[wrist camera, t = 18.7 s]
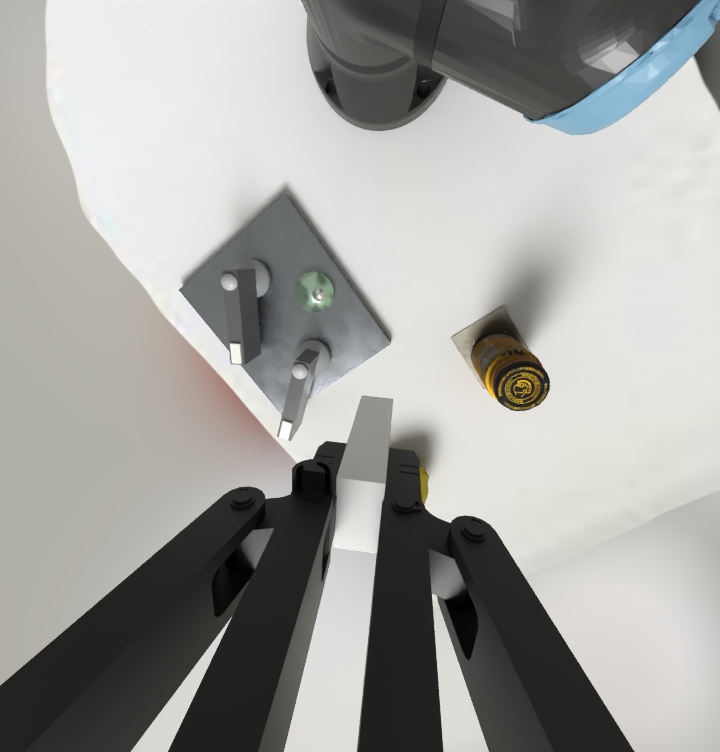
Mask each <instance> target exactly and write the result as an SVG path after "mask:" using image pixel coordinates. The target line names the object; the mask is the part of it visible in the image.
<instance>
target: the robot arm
mask: <svg viewBox="0 0 720 752" xmlns="http://www.w3.org/2000/svg"><path fill="white" fill-rule="evenodd" d="M301 1H302V3H303V5H304V7H305V10H306V12H307V14H308V16H307V48H308V55H309V60H310V64H311V68H312V71H313V74H314V77H315V79H316V81H317V83H318V86H319V88H320V90H321V91H322V93H323V95H324V97H325V99H326V100H327V102H328V103H329V105H330V106H331V107H332V108H333V109H334V111H335V112H336V113H337V114H338V115H339V116H341V117H342V118H343V119H345V120H346V121H347V122H349V123H351V124H353V125H355V126H357V127H360V128H363V129H366V130H373V131H385V130H391V129H395V128H398V127H401V126H404V125H406V124H408V123H410V122H411V121H413V120H414V119H416V118H417V117H419V116H420V115H421V114H422V113H424V112H425V111H426V110H427V109H428V108H429V107H430V106H431V104H432V103H433V102H434V101H435V99H436V98H437V97H438V95H439V94H440V92H441V91H442V89H443V87H444V85H445V83H446V81H447V79H448V78H450V79H452V80H454V81H456V82H458V83H460V84H462V85H464V86H466V87H468V88H470V89H472V90H474V91H477V92H479V93H481V94H483V95H485V96H487V97H489V98H491V99H493V100H495V101H497V102H499V103H501V104H503V105H505V106H507V107H509V108H511V109H513V110H516V111H518V112H520V113H522V114H523V116H524V118H525V119H526V120H527V121H529V122H531V123H537V124H545V125H548V126H550V127H552V128H555V129H557V130H559V131H562V132H564V133H567V134H570V135H585V134H591V133H595V132H597V131H600V130H602V129H604V128H606V127H608V126H610V125H612V124H613V123H615V122H617V121H618V120H620V119H621V118H623V117H624V116H626V115H627V114H629V113H630V112H631V111H633V110H634V109H635V108H636V107H638V106H639V105H640V104H642V103H643V102H644V101H645V100H646V99H648V98H649V97H650V96H651V95H652V94H653V93H654V92H656V91H657V90H658V89H659V88H660V87H661V86H662V85H663V84H664V83H666V82H667V81H668V80H669V79H670V78H671V77H672V76H673V75H674V74H675V73H676V72H677V71H678V70H679V69H680V68H681V67H682V66H683V65H684V64H685V63H686V62H687V61H688V60H689V59H690V58H691V57H692V56H693V55H694V54H695V53H696V52H697V51H698V49H699V48H700V47H701V46H702V45H703V44H704V43H705V41H707V40H708V38H709V37H710V36H711V35H712V33H713V32H714V28H715V25H716V23H717V21H718V20H719V19H720V0H301ZM392 406H393V399H388V398H379V397H370V396H362V397H361V400H360V403H359V407H358V410H357V413H356V416H355V420H354V423H353V426H352V429H351V432H350V436H349V439H348V442H347V444H346V443H338V442H330V441H326V442H325V443H323V444H322V445H321V446H319V447H318V450H317V452H316V454H315V456H314V458H313V459H310V460H305V461H302V462H300V463H298V464H296V465H295V466H294V467H293V468H292V492H291V494H290V495H288V496H285V497H280V498H271V499H265V495H264V493H263V492H262V491H261V490H259V489H257V488H254V487H239V488H237V489H233V490H231V491H229V492H228V493H226V494H225V495H223V496H222V497H221V498H220V499H219V500H217V501H216V502H215V503H214V504H213V505H212V506H211V507H209V508H208V509H207V510H206V511H205V512H203V513H202V514H201V515H200V516H199V517H198V518H196V519H195V520H194V521H193V522H192V523H190V524H189V525H188V526H187V527H186V528H185V529H184V530H182V531H181V532H180V533H179V534H178V535H176V536H175V537H174V538H173V539H172V540H171V541H169V542H168V543H167V544H166V545H165V546H164V547H162V548H161V549H160V550H159V551H158V552H156V553H155V554H154V555H153V556H152V557H151V558H149V559H148V560H147V561H146V562H145V563H144V564H142V565H141V566H140V567H139V568H138V569H137V570H135V571H134V572H133V573H132V574H131V575H130V576H128V577H127V578H126V579H125V580H124V581H122V582H121V583H120V584H119V585H118V586H117V587H116V588H114V589H113V590H112V591H111V592H110V593H108V594H107V595H106V596H105V597H104V598H103V599H101V600H100V601H99V602H98V603H97V604H96V605H94V606H93V607H92V608H91V609H90V610H89V611H87V612H86V613H85V614H84V615H83V616H82V617H80V618H79V619H78V620H77V621H76V622H75V623H73V624H72V625H71V626H70V627H69V628H67V629H66V630H65V631H64V632H63V633H61V634H60V635H59V636H58V637H57V638H56V639H54V640H53V641H52V642H51V643H50V644H49V645H47V646H46V647H45V648H44V649H43V650H42V651H40V652H39V653H38V654H37V655H36V656H35V657H33V658H32V659H31V660H30V661H29V662H27V663H26V664H25V665H24V666H23V667H22V668H20V669H19V670H18V671H17V672H16V673H15V674H14V675H12V676H11V677H10V678H9V679H8V680H7V681H5V682H4V683H3V684H2V685H1V686H0V752H131V750H132V749H133V748H134V746H135V745H136V744H137V742H138V741H139V739H140V738H141V737H142V736H143V734H144V733H145V731H146V730H147V729H148V728H149V726H150V725H151V724H152V722H153V721H154V720H155V718H156V717H157V716H158V714H159V713H160V712H161V710H162V709H163V707H164V706H165V705H166V704H167V702H168V701H169V699H170V698H171V697H172V696H173V694H174V693H175V692H176V690H177V689H178V687H179V686H180V685H181V684H182V682H183V681H184V680H185V678H186V677H187V675H188V674H189V673H190V672H191V670H192V669H193V668H194V666H195V665H196V664H197V662H198V661H199V659H200V658H201V657H202V656H203V654H204V653H205V652H206V650H207V649H208V648H209V646H210V645H211V644H212V642H213V641H214V640H215V638H216V637H217V636H218V634H219V633H220V631H221V630H222V629H223V627H224V626H225V625H226V623H227V622H228V621H229V619H230V618H231V617H232V618H231V620H230V623H229V625H228V627H227V629H226V631H225V633H224V635H223V637H222V639H221V641H220V644H219V646H218V648H217V650H216V652H215V654H214V656H213V658H212V660H211V663H210V665H209V667H208V669H207V671H206V673H205V675H204V677H203V679H202V681H201V683H200V686H199V688H198V690H197V692H196V694H195V696H194V698H193V700H192V702H191V705H190V707H189V709H188V711H187V713H186V715H185V717H184V719H183V722H182V723H181V726H180V728H179V730H178V732H177V734H176V736H175V738H174V740H173V742H172V744H171V747H170V749H169V751H168V752H284V748H285V744H286V740H287V736H288V732H289V728H290V724H291V720H292V715H293V711H294V707H295V703H296V698H297V695H298V691H299V686H300V683H301V678H302V674H303V670H304V666H305V662H306V658H307V653H308V650H309V646H310V642H311V637H312V633H313V629H314V625H315V621H316V617H317V613H318V608H319V605H320V600H321V596H322V592H323V588H324V584H325V579H326V576H327V572H328V568H329V563H330V552H331V546H332V542H333V547H335V548H342V549H348V550H355V551H362V552H368V553H375V554H377V559H376V567H375V576H374V585H373V586H374V587H373V597H372V606H371V616H370V626H369V636H368V646H367V656H366V666H365V677H364V686H363V696H362V707H361V716H360V726H359V736H358V746H357V752H443V741H442V728H441V713H440V700H439V686H438V672H437V659H436V645H435V631H434V619H433V604H432V594H435V595H437V598H438V603H439V606H440V609H441V612H442V615H443V617H444V621H445V623H446V626H447V629H448V632H449V635H450V638H451V641H452V644H453V647H454V650H455V653H456V656H457V658H458V662H459V664H460V667H461V670H462V673H463V676H464V679H465V682H466V685H467V688H468V691H469V694H470V697H471V700H472V703H473V706H474V708H475V711H476V714H477V717H478V720H479V723H480V726H481V729H482V732H483V735H484V738H485V741H486V744H487V746H488V750H489V752H634V750H633V749H632V747H631V746H630V744H629V742H628V741H627V739H626V738H625V736H624V734H623V733H622V731H621V730H620V728H619V727H618V725H617V723H616V722H615V720H614V719H613V717H612V715H611V714H610V712H609V711H608V709H607V707H606V706H605V704H604V703H603V701H602V700H601V698H600V696H599V695H598V693H597V692H596V690H595V688H594V687H593V685H592V684H591V682H590V680H589V679H588V677H587V676H586V674H585V673H584V671H583V670H582V668H581V666H580V664H579V663H578V662H577V660H576V658H575V657H574V655H573V653H572V652H571V650H570V649H569V647H568V645H567V644H566V642H565V641H564V639H563V638H562V636H561V634H560V633H559V631H558V630H557V628H556V626H555V625H554V623H553V622H552V620H551V618H550V617H549V615H548V614H547V612H546V610H545V609H544V607H543V606H542V604H541V603H540V601H539V599H538V598H537V596H536V595H535V593H534V591H533V590H532V588H531V587H530V585H529V583H528V582H527V580H526V579H525V577H524V575H523V574H522V572H521V571H520V569H519V567H518V566H517V564H516V563H515V561H514V560H513V558H512V556H511V555H510V553H509V552H508V550H507V548H506V547H505V545H504V544H503V542H502V540H501V539H500V537H499V536H498V534H497V533H496V531H495V530H494V529H493V528H492V527H491V525H489V524H488V523H486V522H485V521H483V520H481V519H479V518H476V517H473V516H460V517H457V518H455V519H454V520H452V522H451V523H448V522H446V521H443V520H441V519H439V518H437V517H435V516H433V515H432V514H430V513H429V512H428V511H427V510H426V509H425V506H424V503H423V502H422V495H421V480H420V464H419V458H418V456H417V455H416V454H415V452H414V451H410V450H402V449H394V448H389V440H390V429H391V418H392Z"/></svg>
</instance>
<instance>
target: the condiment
mask: <svg viewBox="0 0 720 752" xmlns="http://www.w3.org/2000/svg"><path fill="white" fill-rule="evenodd" d="M451 339H452V341H453V342H454V344H455V345H456V347H457V349H458V350H459V352H460V353H461V355H462V356H463V358H464V360H465V361H466V363H467V364H468V366H469V367H470V369H471V371H472V372H473V374H474V375H475V377H476V378H477V380H478V382H479V383H480V385H481V386H482V388H483V389H485V388H486V389H487V390H488V392H489V393H490V395H491V396H493V397H494V398H495V399H497V400H498V401H499V403H501V404H502V405H503V406H505V407H507V408H509V409H510V410H514V411H525V410H529V409H531V408H534V407H536V406H538V405H540V404H541V402H542V401H543V400H544V399H545V398H546V396H547V394H548V392H549V390H550V381H549V377H548V374H547V372H546V371H545V369H544V368H543V367H542V364H541V363H540V361H539V360H538V358H537V357H535V355H533V354H532V353H531V352H529V350H528V348H527V346H526V345H525V343H524V341H523V340H522V338H521V336H520V334H519V333H518V331H517V329H516V328H515V326H514V324H513V322H512V321H511V319H510V317H509V315H508V314H507V312H506V310H505V309H504V307H501V308H499V309H498V310H496V311H494V312H492V313H491V314H489V315H487V316H486V317H484V318H482V319H481V320H479V321H477V322H476V323H474V324H472V325H470V326H469V327H468V328H466V329H464V330H463V331H461V332H459V333H458V334H456V335H455V336H453V337H451ZM473 340H474V342H473ZM473 343H474V345H472V344H473Z"/></svg>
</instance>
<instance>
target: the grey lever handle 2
mask: <svg viewBox="0 0 720 752" xmlns="http://www.w3.org/2000/svg"><path fill="white" fill-rule="evenodd" d="M293 360H294V367H293V369H292V375H291V380H290V384H289V388H288V393H287V397H286V401H285V405H284V410H283V414H282V418H281V422H280V427H279V431H278V435H277V437H280V438H283V439H286V440H289V441H291V439H292V438H293V436H294V434H295V433H296V431H297V430H298V428H299V426H300V425H301V423H302V419H303V415H304V412H305V408H306V404H307V400H308V396H309V392H310V388H311V385H312V381H313V377H314V376H318V375H320V374H322V373H323V372H324V371H325V370H326V369H327V368H328V366H329V364H330V361H331V355H330V351H329V349H328V348H327V346H326V345H325V344H324V343H322V342H321V341H319V340H315V339H309V340H306V341H304V342H302V343H301V344H300V345H299V346H298V347H297V348H296V349H295V351H294V355H293Z"/></svg>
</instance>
